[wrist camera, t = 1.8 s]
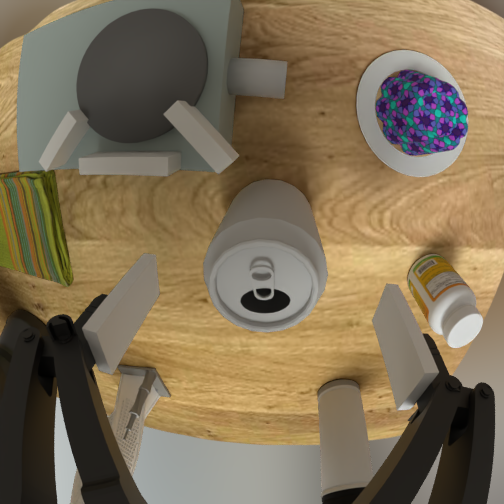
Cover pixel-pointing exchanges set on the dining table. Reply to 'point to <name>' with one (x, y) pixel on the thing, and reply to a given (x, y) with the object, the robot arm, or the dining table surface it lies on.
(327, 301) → the dining table surface
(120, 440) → the skyscraper
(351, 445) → the travel mug
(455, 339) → the supplement bottle
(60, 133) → the gearbox
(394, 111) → the pudding
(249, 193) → the can
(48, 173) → the dish towel
